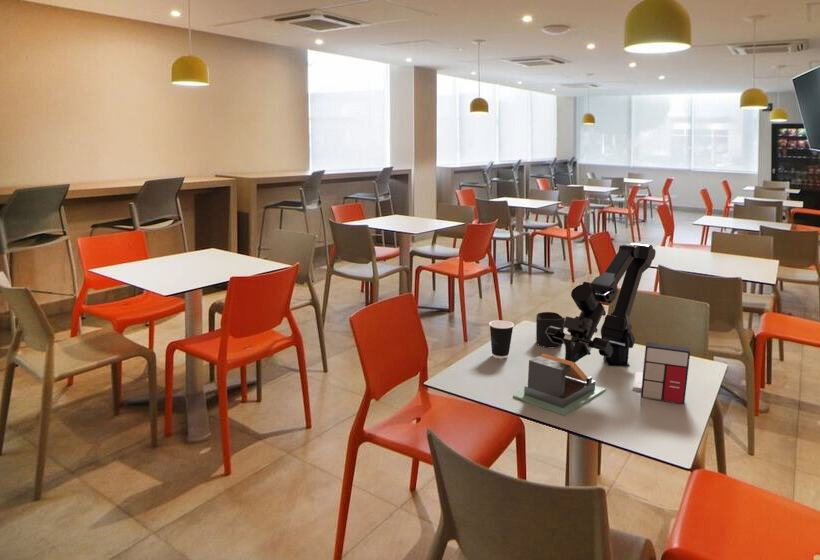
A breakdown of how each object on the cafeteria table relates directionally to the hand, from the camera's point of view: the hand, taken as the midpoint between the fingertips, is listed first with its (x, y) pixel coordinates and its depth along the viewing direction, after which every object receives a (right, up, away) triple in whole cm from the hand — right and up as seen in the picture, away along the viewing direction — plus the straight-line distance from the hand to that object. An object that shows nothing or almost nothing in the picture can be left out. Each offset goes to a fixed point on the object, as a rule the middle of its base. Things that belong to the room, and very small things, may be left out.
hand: (566, 367), depth 171 cm
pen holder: (+4, +2, +41) cm, 41 cm away
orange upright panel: (+2, -3, +3) cm, 5 cm away
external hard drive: (+26, -7, +7) cm, 27 cm away
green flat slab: (-2, -7, 0) cm, 8 cm away
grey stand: (-2, -7, 0) cm, 7 cm away
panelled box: (+25, -8, -3) cm, 27 cm away
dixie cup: (-14, -1, +29) cm, 32 cm away
